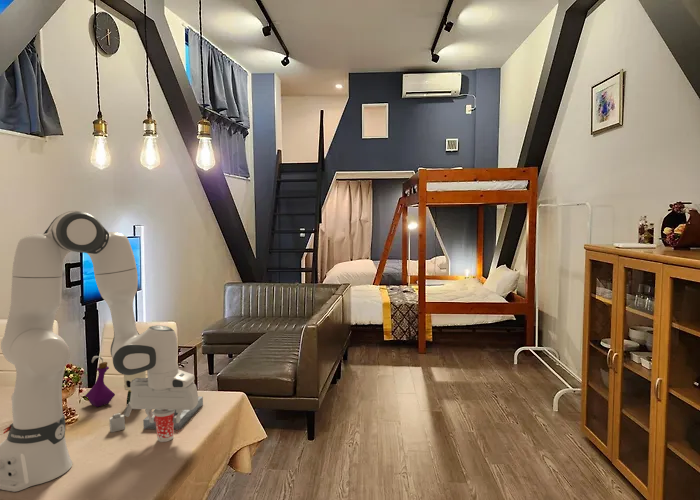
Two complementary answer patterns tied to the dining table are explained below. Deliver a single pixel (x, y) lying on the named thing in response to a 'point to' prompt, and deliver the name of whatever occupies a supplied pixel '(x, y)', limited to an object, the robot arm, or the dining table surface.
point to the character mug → (128, 380)
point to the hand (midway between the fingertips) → (164, 422)
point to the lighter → (119, 420)
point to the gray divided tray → (183, 417)
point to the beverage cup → (164, 424)
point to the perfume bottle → (100, 387)
